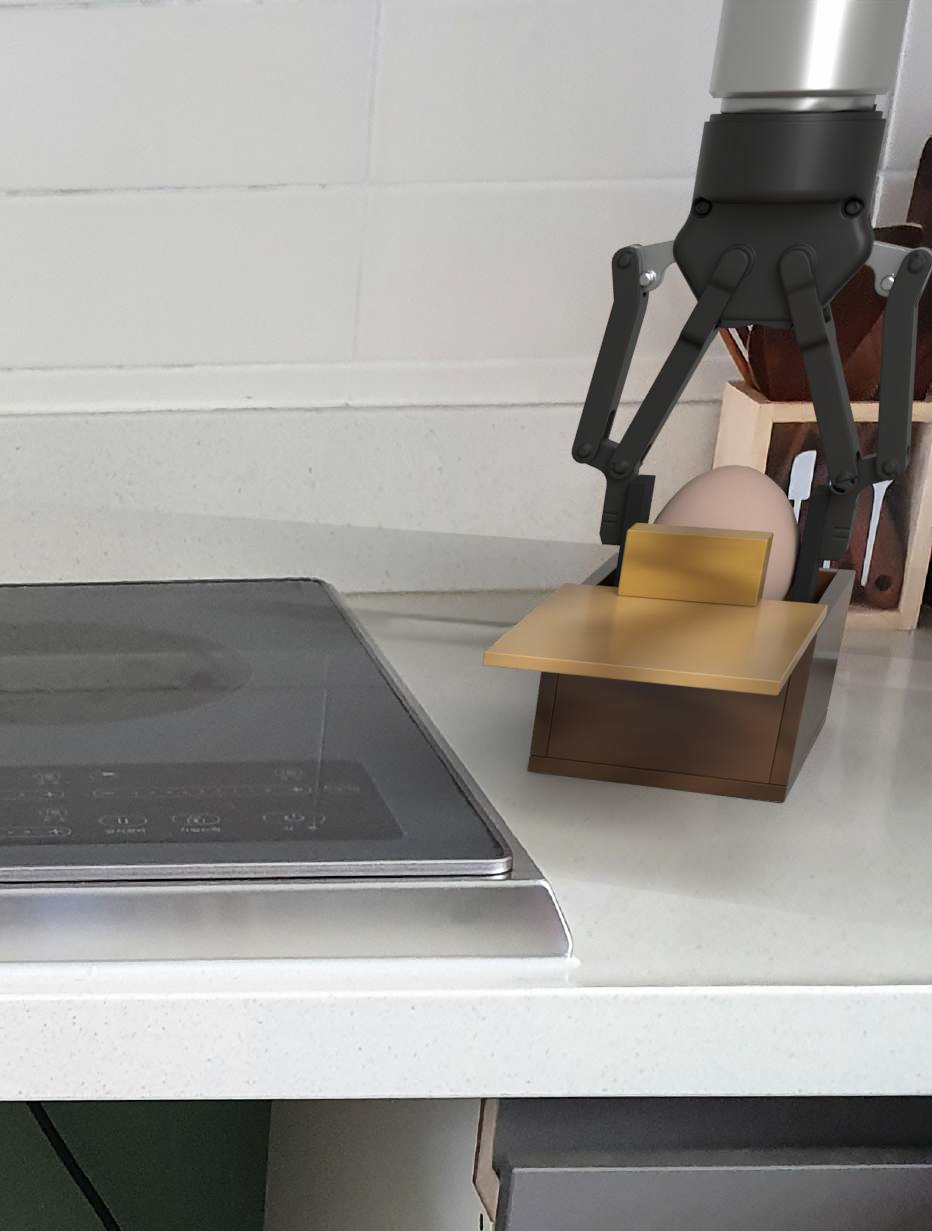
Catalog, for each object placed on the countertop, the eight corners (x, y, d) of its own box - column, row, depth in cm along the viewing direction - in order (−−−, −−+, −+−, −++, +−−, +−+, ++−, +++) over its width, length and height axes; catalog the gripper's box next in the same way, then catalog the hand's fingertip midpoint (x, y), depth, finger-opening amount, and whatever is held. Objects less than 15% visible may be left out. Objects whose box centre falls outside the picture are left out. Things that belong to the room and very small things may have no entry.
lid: (825, 617, 95) (841, 536, 94) (777, 696, 83) (795, 605, 82) (562, 595, 101) (573, 518, 99) (481, 665, 89) (492, 579, 87)
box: (825, 722, 109) (856, 570, 105) (784, 803, 97) (817, 634, 93) (593, 697, 114) (615, 551, 111) (526, 771, 102) (549, 610, 99)
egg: (783, 630, 106) (819, 459, 102) (781, 662, 100) (819, 482, 96) (632, 618, 109) (662, 450, 105) (622, 648, 103) (653, 472, 99)
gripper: (1059, 99, 92) (942, 623, 102) (579, 108, 101) (516, 587, 112) (1052, 101, 86) (929, 656, 96) (544, 111, 96) (481, 616, 106)
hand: (708, 619), depth 104 cm, fingers open, 7 cm apart
